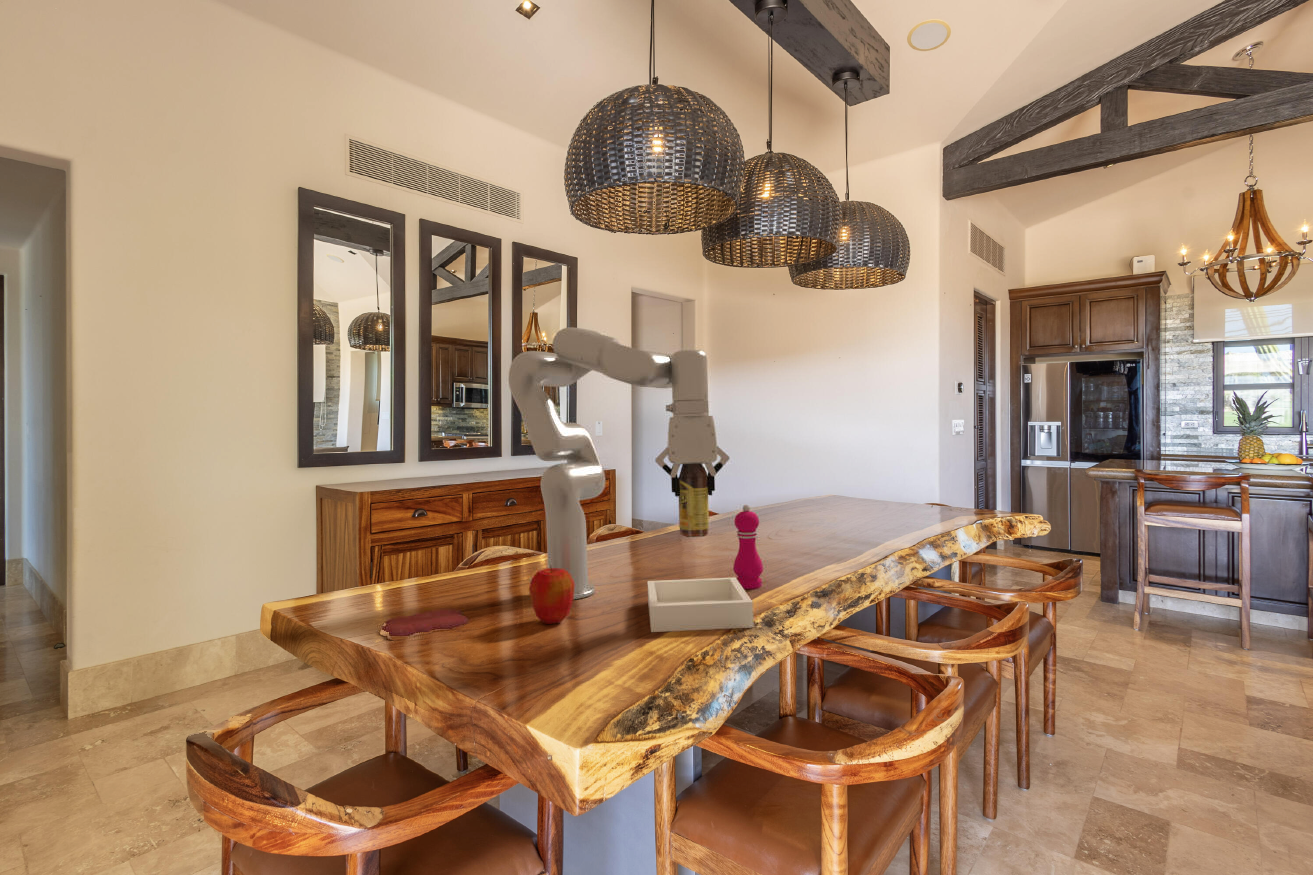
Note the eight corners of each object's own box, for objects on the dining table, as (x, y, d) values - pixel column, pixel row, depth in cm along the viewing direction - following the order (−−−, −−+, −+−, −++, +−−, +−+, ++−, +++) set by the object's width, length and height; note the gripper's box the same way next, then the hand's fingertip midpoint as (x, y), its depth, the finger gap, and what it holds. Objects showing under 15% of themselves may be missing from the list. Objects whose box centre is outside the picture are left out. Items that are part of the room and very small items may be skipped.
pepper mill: (762, 582, 156) (760, 502, 155) (764, 589, 148) (762, 506, 148) (733, 582, 156) (731, 503, 156) (734, 589, 149) (731, 507, 149)
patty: (385, 645, 119) (385, 635, 119) (373, 627, 130) (373, 618, 130) (476, 627, 128) (475, 617, 128) (457, 611, 140) (456, 603, 140)
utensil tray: (651, 632, 120) (650, 606, 120) (648, 603, 140) (647, 581, 140) (753, 627, 121) (752, 601, 121) (736, 599, 141) (735, 577, 141)
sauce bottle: (677, 533, 133) (674, 441, 133) (706, 532, 134) (703, 440, 134) (681, 539, 127) (678, 442, 126) (711, 537, 127) (708, 440, 127)
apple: (537, 632, 122) (535, 571, 122) (525, 620, 130) (523, 563, 130) (582, 624, 127) (580, 565, 126) (567, 613, 135) (565, 558, 134)
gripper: (650, 410, 126) (652, 498, 126) (734, 408, 127) (737, 495, 127) (648, 411, 133) (651, 495, 134) (728, 409, 134) (731, 492, 134)
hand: (693, 494), depth 130 cm, fingers closed on sauce bottle, 6 cm apart
